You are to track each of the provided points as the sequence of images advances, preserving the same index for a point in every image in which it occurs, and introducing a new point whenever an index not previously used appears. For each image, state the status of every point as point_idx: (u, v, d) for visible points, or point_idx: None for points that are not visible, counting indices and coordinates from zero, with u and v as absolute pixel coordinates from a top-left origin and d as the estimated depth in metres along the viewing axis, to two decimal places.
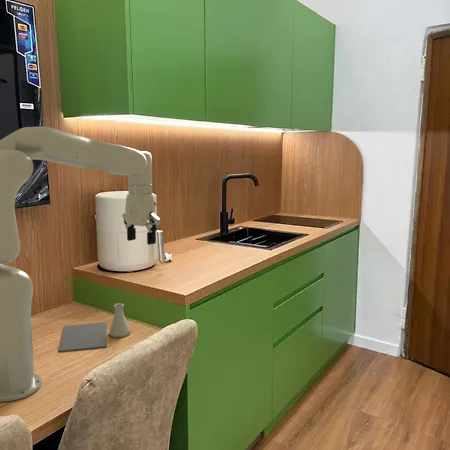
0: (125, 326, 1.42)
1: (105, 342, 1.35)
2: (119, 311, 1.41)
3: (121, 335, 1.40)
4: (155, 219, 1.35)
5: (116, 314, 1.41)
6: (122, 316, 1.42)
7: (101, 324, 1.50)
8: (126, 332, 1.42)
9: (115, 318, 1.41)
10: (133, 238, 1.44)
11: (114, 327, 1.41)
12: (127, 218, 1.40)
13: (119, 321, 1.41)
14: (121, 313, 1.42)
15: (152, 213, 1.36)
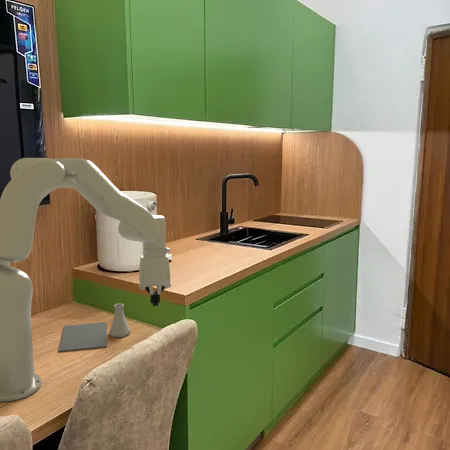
0: (125, 326, 1.42)
1: (105, 342, 1.35)
2: (119, 311, 1.41)
3: (121, 335, 1.40)
4: None
5: (116, 314, 1.41)
6: (122, 316, 1.42)
7: (101, 324, 1.50)
8: (126, 332, 1.42)
9: (115, 318, 1.41)
10: (155, 304, 1.45)
11: (114, 327, 1.41)
12: None
13: (119, 321, 1.41)
14: (121, 313, 1.42)
15: None
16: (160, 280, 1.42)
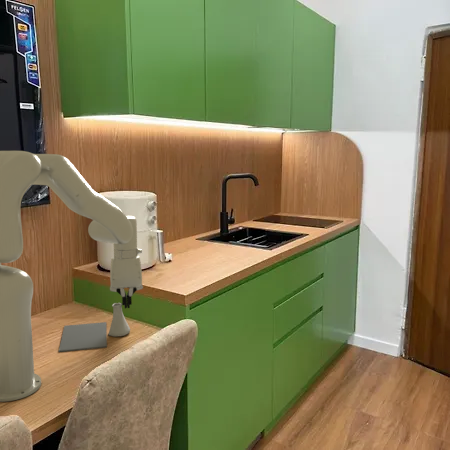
0: (124, 325, 1.42)
1: (105, 342, 1.35)
2: (118, 311, 1.41)
3: (121, 334, 1.40)
4: None
5: (115, 313, 1.41)
6: (121, 315, 1.42)
7: (101, 324, 1.50)
8: (125, 330, 1.42)
9: (114, 317, 1.41)
10: None
11: (114, 327, 1.41)
12: None
13: (118, 321, 1.41)
14: (120, 312, 1.42)
15: None
16: (131, 282, 1.40)
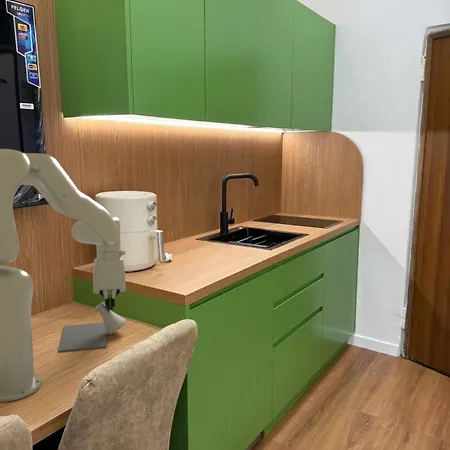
0: (117, 319, 1.41)
1: (105, 342, 1.35)
2: (103, 310, 1.40)
3: (117, 328, 1.40)
4: None
5: (102, 313, 1.41)
6: (108, 312, 1.41)
7: (101, 324, 1.50)
8: (120, 323, 1.41)
9: (103, 317, 1.41)
10: None
11: (108, 325, 1.41)
12: None
13: (108, 318, 1.40)
14: (106, 310, 1.41)
15: None
16: (114, 284, 1.38)
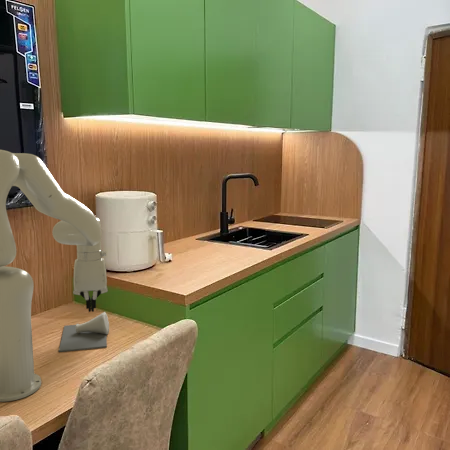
0: (96, 320, 1.41)
1: (105, 342, 1.35)
2: (81, 328, 1.41)
3: (102, 324, 1.39)
4: None
5: (85, 330, 1.41)
6: (86, 324, 1.41)
7: None
8: (100, 319, 1.40)
9: (89, 330, 1.41)
10: None
11: (98, 330, 1.40)
12: None
13: (91, 327, 1.40)
14: (83, 326, 1.41)
15: None
16: (95, 285, 1.37)
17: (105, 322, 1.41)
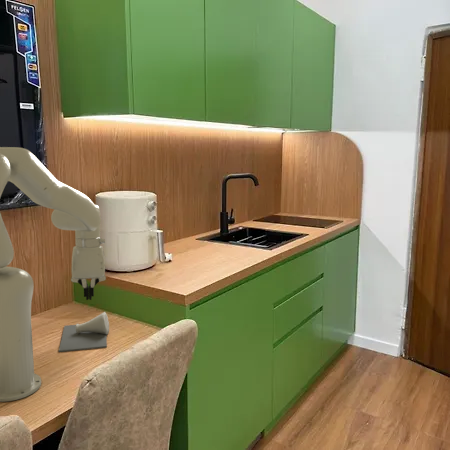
0: (96, 320, 1.41)
1: (105, 342, 1.35)
2: (81, 328, 1.41)
3: (102, 324, 1.39)
4: None
5: (85, 330, 1.41)
6: (86, 324, 1.41)
7: None
8: (100, 319, 1.40)
9: (89, 330, 1.41)
10: None
11: (98, 330, 1.40)
12: None
13: (91, 327, 1.40)
14: (83, 326, 1.41)
15: None
16: (93, 272, 1.36)
17: (105, 322, 1.41)
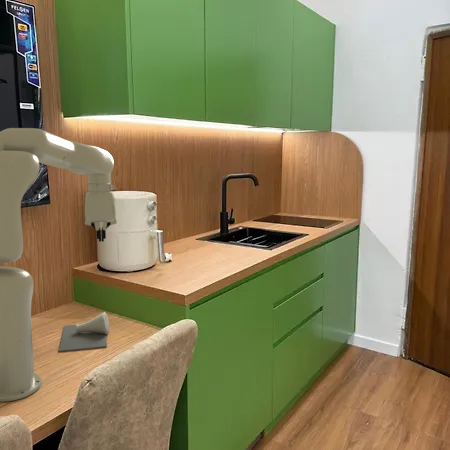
0: (96, 320, 1.41)
1: (105, 342, 1.35)
2: (81, 328, 1.41)
3: (102, 324, 1.39)
4: None
5: (85, 330, 1.41)
6: (86, 324, 1.41)
7: None
8: (100, 319, 1.40)
9: (89, 330, 1.41)
10: None
11: (98, 330, 1.40)
12: None
13: (91, 327, 1.40)
14: (83, 326, 1.41)
15: None
16: (105, 215, 1.47)
17: (105, 322, 1.41)
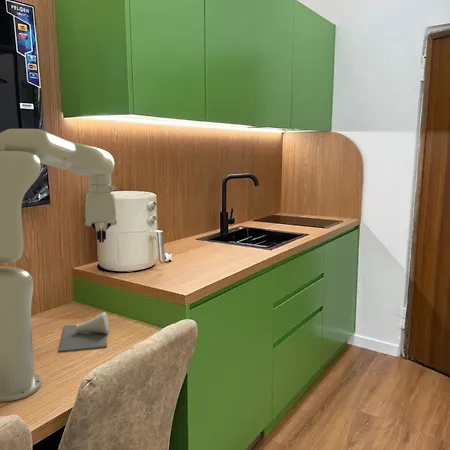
0: (96, 320, 1.41)
1: (105, 342, 1.35)
2: (81, 328, 1.41)
3: (102, 324, 1.39)
4: None
5: (85, 330, 1.41)
6: (86, 324, 1.41)
7: None
8: (100, 319, 1.40)
9: (89, 330, 1.41)
10: None
11: (98, 330, 1.40)
12: None
13: (91, 327, 1.40)
14: (83, 326, 1.41)
15: None
16: (105, 216, 1.47)
17: (105, 322, 1.41)
